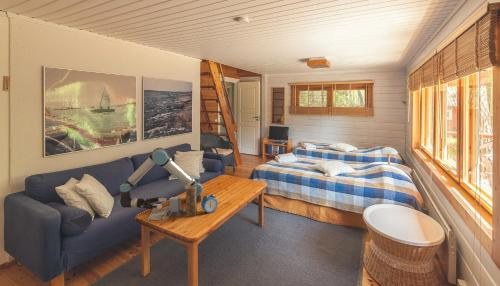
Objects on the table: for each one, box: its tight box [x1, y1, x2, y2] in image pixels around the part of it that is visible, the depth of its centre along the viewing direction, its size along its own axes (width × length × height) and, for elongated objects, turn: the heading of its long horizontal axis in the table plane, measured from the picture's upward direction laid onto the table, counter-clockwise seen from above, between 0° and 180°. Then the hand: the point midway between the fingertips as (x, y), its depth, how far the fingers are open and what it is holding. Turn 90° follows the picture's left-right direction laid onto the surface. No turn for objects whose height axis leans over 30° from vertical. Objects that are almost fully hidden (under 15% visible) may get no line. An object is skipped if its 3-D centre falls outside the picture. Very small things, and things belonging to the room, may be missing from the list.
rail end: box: [169, 196, 182, 212], centre depth 217 cm, size 8×5×14 cm, turn 91°
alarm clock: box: [200, 193, 219, 214], centre depth 223 cm, size 13×6×15 cm, turn 124°
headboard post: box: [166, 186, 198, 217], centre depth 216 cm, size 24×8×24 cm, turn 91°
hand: (163, 202), depth 216 cm, fingers open, 13 cm apart
